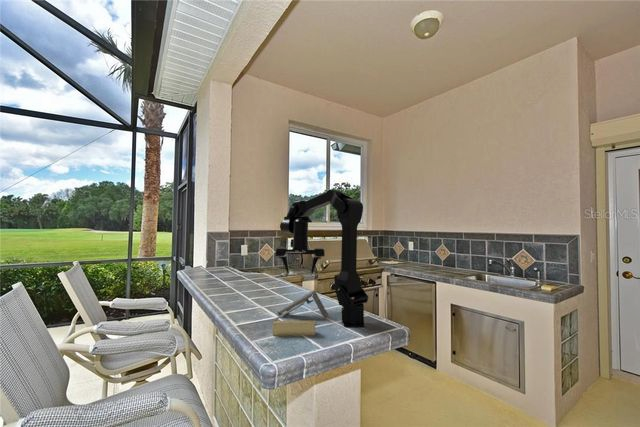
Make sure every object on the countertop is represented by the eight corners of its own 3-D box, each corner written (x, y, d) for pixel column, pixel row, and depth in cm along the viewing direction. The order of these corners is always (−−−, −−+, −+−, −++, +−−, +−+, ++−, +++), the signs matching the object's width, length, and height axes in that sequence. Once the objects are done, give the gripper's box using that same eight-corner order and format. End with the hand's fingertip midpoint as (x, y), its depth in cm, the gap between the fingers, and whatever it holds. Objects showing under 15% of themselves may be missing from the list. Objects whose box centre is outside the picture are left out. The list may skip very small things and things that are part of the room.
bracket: (326, 325, 89) (310, 296, 90) (286, 346, 90) (271, 318, 90) (328, 314, 99) (314, 289, 100) (293, 334, 100) (279, 309, 101)
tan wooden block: (315, 331, 83) (315, 319, 83) (315, 335, 80) (315, 322, 80) (274, 331, 83) (274, 319, 83) (272, 335, 80) (272, 323, 80)
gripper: (323, 233, 118) (323, 270, 118) (279, 232, 118) (278, 270, 118) (324, 234, 107) (324, 275, 107) (275, 234, 107) (274, 275, 106)
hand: (300, 274), depth 110 cm, fingers open, 9 cm apart
